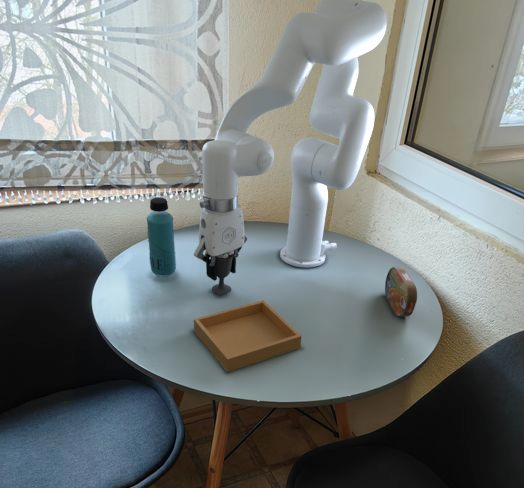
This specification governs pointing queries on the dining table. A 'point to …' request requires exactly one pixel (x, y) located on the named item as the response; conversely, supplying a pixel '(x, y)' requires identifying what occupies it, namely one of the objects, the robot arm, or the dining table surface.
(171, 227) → the beverage bottle
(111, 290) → the dining table surface
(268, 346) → the tray
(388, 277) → the tin
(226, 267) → the sundae
